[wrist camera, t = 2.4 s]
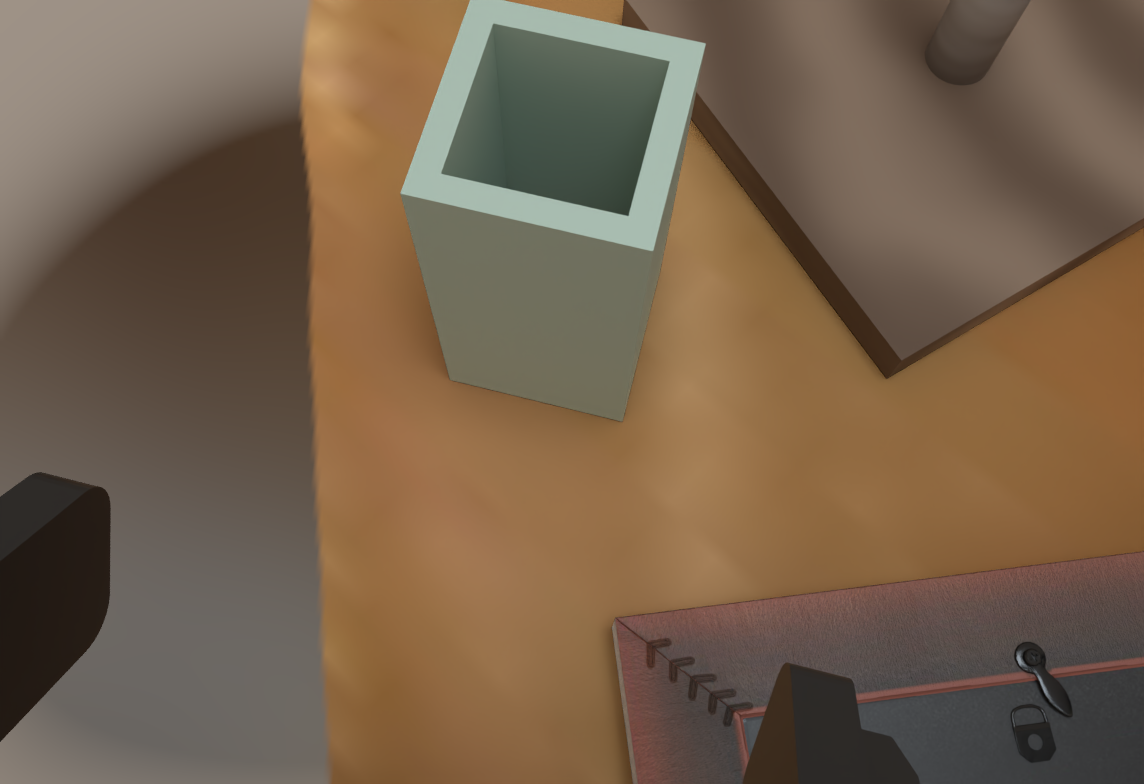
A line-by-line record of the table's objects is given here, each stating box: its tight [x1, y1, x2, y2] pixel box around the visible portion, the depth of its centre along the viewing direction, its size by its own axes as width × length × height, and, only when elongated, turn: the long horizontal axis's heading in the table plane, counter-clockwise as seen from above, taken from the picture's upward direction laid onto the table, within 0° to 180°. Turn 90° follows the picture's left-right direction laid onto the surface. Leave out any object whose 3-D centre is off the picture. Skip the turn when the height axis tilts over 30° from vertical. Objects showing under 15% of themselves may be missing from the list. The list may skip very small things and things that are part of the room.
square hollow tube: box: [400, 0, 706, 422], centre depth 28 cm, size 6×6×11 cm
